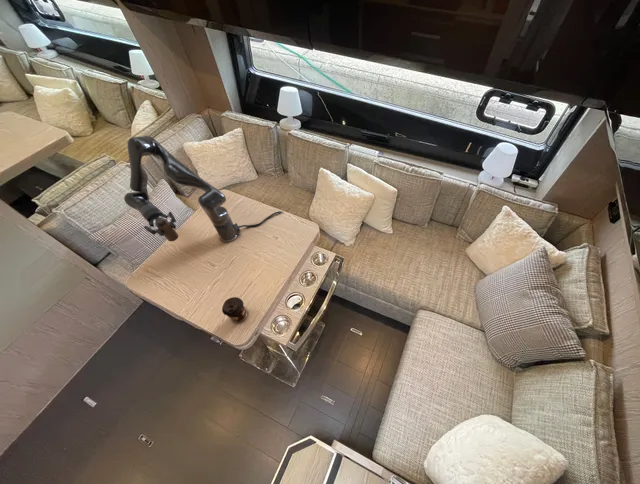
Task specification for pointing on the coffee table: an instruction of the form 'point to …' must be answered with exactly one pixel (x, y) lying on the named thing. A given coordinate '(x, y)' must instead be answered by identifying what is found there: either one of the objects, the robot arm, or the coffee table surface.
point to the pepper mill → (166, 229)
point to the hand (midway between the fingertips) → (168, 231)
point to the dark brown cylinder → (234, 309)
